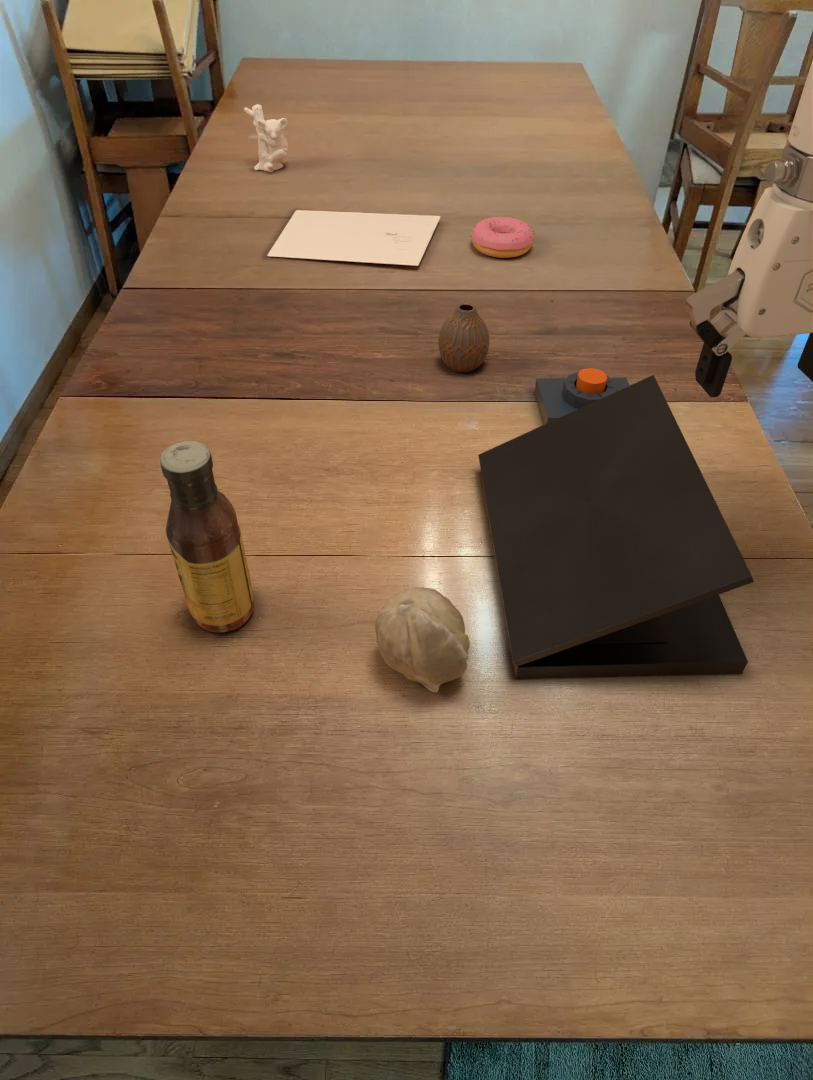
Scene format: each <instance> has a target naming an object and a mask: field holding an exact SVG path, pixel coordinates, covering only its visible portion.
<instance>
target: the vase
mask: <svg viewBox="0 0 813 1080" xmlns="http://www.w3.org/2000/svg"><path fill="white" fill-rule="evenodd" d="M489 349H490V334H489V330H488V326H487V324H486V322H485V321H484V319H483V318H482V317H481V316H480V314H479V312H478V311H477V307H476V306H475V304H473V303H469V302H462V303H459V304H458V305H457V306H456V308H455V310H454V311H453V312H452V313H451V314H450V315H449V316H448V318H447V319H446V320H445V321H444V323H443V324H442V326H441V328H440V332H439V335H438V351H439V355H440V358H441V360H442V361H443V363H444V364H445V365H446V367H448V369H451V370H452V371H454V372H458V373H469V372H472V371H474V370H475V369H478V368H479V367H480V366H481V365H482V364H483V363H484V361H485V359H486V357H487V355H488V352H489Z"/></svg>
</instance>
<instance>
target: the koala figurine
mask: <svg viewBox="0 0 813 1080" xmlns="http://www.w3.org/2000/svg"><path fill="white" fill-rule="evenodd" d="M243 111H244V113H246V115H248V116H249V117H251V118H252V119H253V121H252V126H253V128H254V129H255V132H256V134H257V146H258V150H257V153H258V154H257V155H258V158H259V161H258V162H257V163H256V165H254V167H253V170H254V171H259V170H260V171H265V172H268V173H273V172H274V171H277V170H280V169H282V168H283V167H284V164H283V163H281V162H278V161H282V160H284V159H285V158H286V157H287V155H288V152H289V141H288V139H287V137H286V133H285V132H284V131H283V130H286V129H287V128H288V119H287V118H286V117H281V118H279V119H275V118H271V119H267V120H265V116H264V111H263V106H262V104H260V103H257V104H254V105H253V106H252V108H251V109H250V108H248V107H247V106H245V107H244V108H243Z"/></svg>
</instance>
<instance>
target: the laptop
mask: <svg viewBox="0 0 813 1080" xmlns="http://www.w3.org/2000/svg"><path fill="white" fill-rule="evenodd" d="M480 478H481V485H482V491H483V495H484V496H483V497H484V502H485V509H486V513H487V519H488V525H489V532H490V537H491V544H492V549H493V556H494V561H495V567H496V568H495V569H496V572H497V579H498V585H499V591H500V597H501V601H502V608H503V614H504V620H505V626H506V632H507V637H508V638H507V639H508V643H509V649H510V655H511V661H512V662H511V663H512V668H513V673H514V680H537V679H538V680H540V679H546V680H547V679H575V678H576V679H583V678H621V677H662V676H663V677H665V676H666V677H667V676H699V675H700V676H703V675H704V676H705V675H740V674H741V675H742V674H743V673H744V671H745V669H746V667H747V665H748V663H749V660H748V659H747V656H746V654H745V651H744V649H743V647H742V645H741V642H740V640H739V638H738V635H737V633H736V631H735V628H734V626H733V624H732V622H731V619H730V617H729V615H728V613H727V611H726V608H725V606H724V603H723V601H722V599H721V597H720V594H719V595H716V596H714V597H711V598H708V599H705V600H702V601H700V602H697V603H694V604H691V605H688V606H686V607H683V608H680V609H677V610H674V611H672V612H669V613H666V614H663V615H660V616H658V617H655V618H652V619H649V620H646V621H644V622H641V623H638V624H635V625H632V626H629V627H627V628H624V629H621V630H618V631H615V632H613V633H610V634H607V635H604V636H601V637H599V638H596V639H593V640H590V641H587V642H585V643H582V644H579V645H576V646H573V647H571V648H568V649H565V650H562V651H559V652H557V653H554V654H551V655H548V656H545V657H543V658H540V659H537V660H534V661H531V662H529V663H526V664H523V665H520V666H516V665H515V663H514V662H513V656H512V650H511V644H510V638H509V633H508V627H507V621H506V615H505V609H504V603H503V597H502V591H501V586H500V580H499V574H498V568H497V562H496V556H495V550H494V544H493V539H492V533H491V527H490V521H489V515H488V509H487V503H486V497H485V492H484V486H483V480H482V474H481V469H480Z"/></svg>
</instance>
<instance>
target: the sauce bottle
mask: <svg viewBox="0 0 813 1080" xmlns="http://www.w3.org/2000/svg"><path fill="white" fill-rule="evenodd" d="M213 461H214V460H213V456H212V453H211V449H210V448H209V447H208V446H207V445H206V444H204V443H202V442H200V441H195V440H186V441H185V440H183V441H180V442H176V443H174V444H172V445H171V446H169V447H167V448H165V450H164V451H162V453H161V455H160V458H159V463H160V468H161V473H162V475H163V477H164V478H165V480H166V482H167V485H168V490H169V492H170V493H169V496H170V497H169V498H170V505H169V510H168V514H167V520H166V525H165V534H166V535H165V536H166V539H167V542H168V545H169V548H170V552H171V554H172V558H173V561H174V565H175V568H176V572H177V576H178V579H179V581H180V585H181V588H182V592H183V595H184V599H185V601H186V606H187V608H188V611H189V613H190V615H191V616H192V620H193V621H194V622H195V624H197V625H198V626H199V627H200V628H202V629H204V630H206V631H208V632H211V633H226V632H231V631H234V630H238V629H239V628H241V627H242V626H243V625H245V624H246V622H247V621H248V620H249V619H250V618H251V616H252V614H253V613H254V608H255V607H254V606H255V604H254V591H253V585H252V580H251V574H250V569H249V565H248V560H247V556H246V551H245V546H244V540H243V536H242V531H241V527H240V525H239V523H238V522H239V521H238V518H237V513H236V509H235V507H234V506H233V504H232V503H231V501H230V500H229V499H228V497H226V495H225V494H224V493H223V492H221V491H219V490H218V486H217V484H216V481H215V477H214V471H213V467H214V462H213Z"/></svg>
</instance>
